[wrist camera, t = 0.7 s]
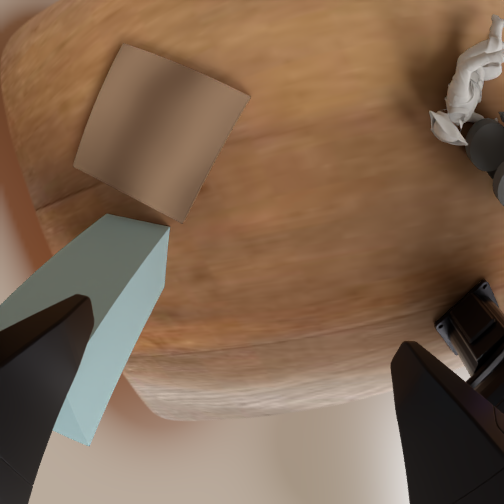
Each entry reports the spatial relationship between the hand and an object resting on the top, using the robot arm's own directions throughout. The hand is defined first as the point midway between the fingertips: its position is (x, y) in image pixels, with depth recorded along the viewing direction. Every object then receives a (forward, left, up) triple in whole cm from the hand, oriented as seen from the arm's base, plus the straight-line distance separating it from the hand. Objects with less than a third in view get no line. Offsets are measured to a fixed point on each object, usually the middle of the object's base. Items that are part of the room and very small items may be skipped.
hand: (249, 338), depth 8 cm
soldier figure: (-4, -17, -13) cm, 22 cm away
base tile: (+8, +1, -13) cm, 16 cm away
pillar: (+4, +9, -13) cm, 16 cm away
